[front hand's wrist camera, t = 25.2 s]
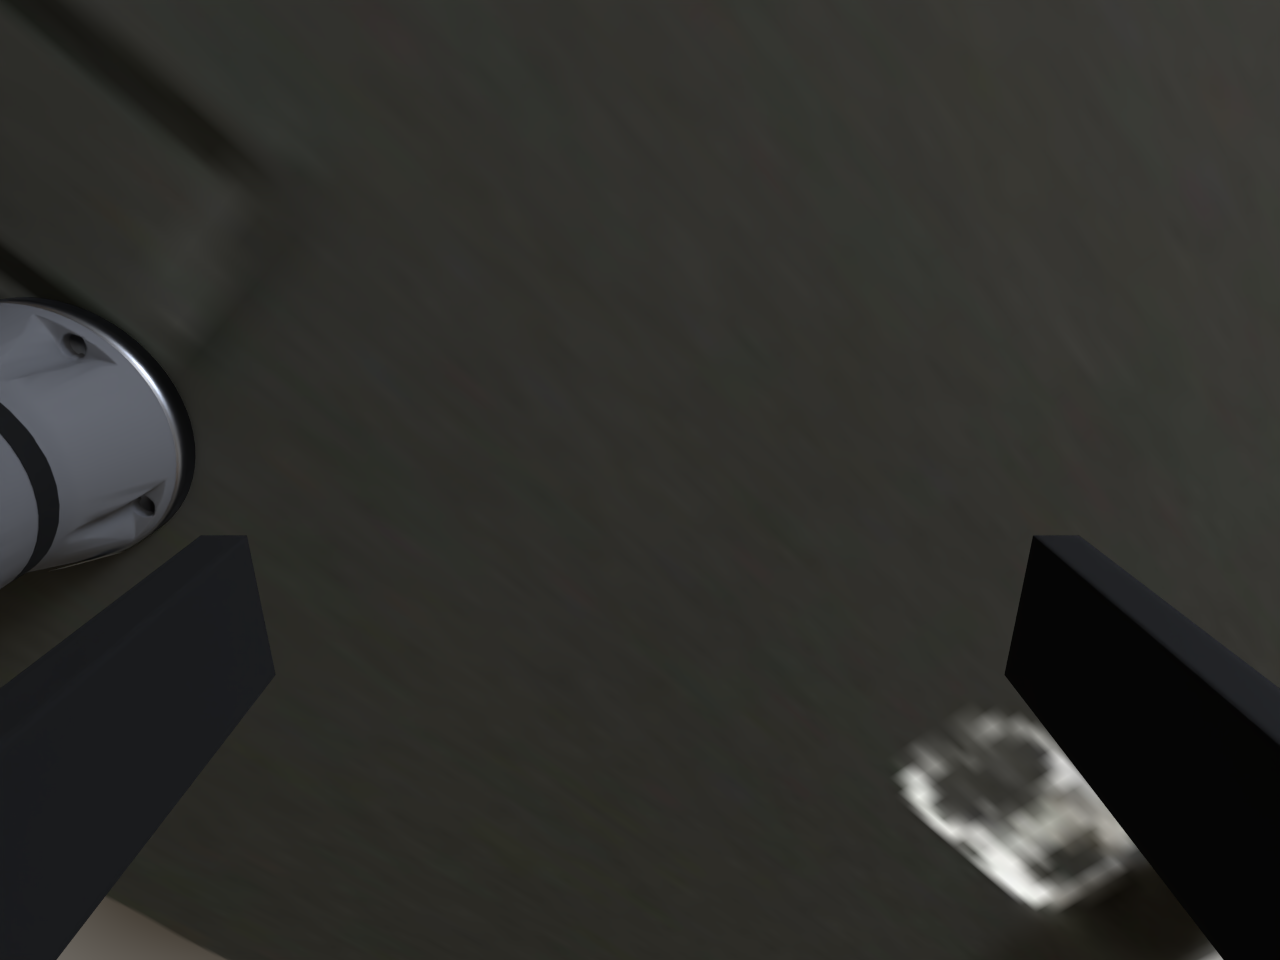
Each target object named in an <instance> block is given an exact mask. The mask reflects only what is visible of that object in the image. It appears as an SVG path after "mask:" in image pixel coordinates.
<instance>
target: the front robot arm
mask: <svg viewBox="0 0 1280 960" xmlns="http://www.w3.org/2000/svg"><path fill="white" fill-rule="evenodd" d="M194 467H195V443H194V436H193V431H192V427H191V422H190V419H189V416H188V413H187V411H186V408H185V406H184V403H183V401H182V399H181V397H180V395H179V393H178V391H177V390H176V388H175V386H174V384H173V383H172V381H171V380H170V378H169V377H168V375H167V374H166V372H165V371H164V370H163V369H162V367H161V366H160V365H159V364H158V362H157V361H156V360H155V359H154V358H153V357H152V356H151V355H150V354H149V353H148V352H147V351H146V350H145V349H144V348H143V347H142V346H141V345H140V344H139V343H138V342H137V341H135V340H134V339H133V338H132V337H130V336H129V335H128V334H127V333H125V332H124V331H123V330H121V329H120V328H118V327H117V326H115V325H114V324H112V323H110V322H109V321H107V320H105V319H103V318H101V317H100V316H98V315H95V314H93V313H91V312H89V311H87V310H84V309H82V308H79V307H76V306H73V305H71V304H67V303H63V302H59V301H55V300H49V299H44V298H32V297H18V298H8V299H0V589H1V588H2V587H4V586H5V585H7V584H9V583H10V582H12V581H14V580H15V579H17V578H18V577H20V576H22V575H24V574H25V573H27V572H32V571H36V570H41V569H46V568H51V567H56V566H60V565H65V564H70V563H75V562H80V561H84V560H88V561H85V562H89V561H92V560H96V559H100V558H103V557H107V556H111V555H114V554H115V553H116V554H118V552H120V553H122V552H121V551H123V550H125V549H128V548H130V547H131V546H133V545H135V544H137V543H138V542H140V541H141V540H143V539H144V538H146V537H147V536H149V535H150V534H152V533H153V532H154V531H156V530H157V529H159V528H160V527H161V526H163V525H164V524H165V523H166V522H167V521H168V520H169V519H170V518H171V517H173V515H174V514H175V513H176V512H177V510H178V509H179V508H180V506H181V504H182V503H183V501H184V500H185V497H186V495H187V493H188V491H189V488H190V485H191V482H192V478H193V473H194ZM94 558H96V559H94ZM89 559H92V560H89ZM85 562H81V563H85ZM81 563H77V564H74V565H78V564H81ZM74 565H70V566H74ZM70 566H66V567H63V568H67V567H70ZM59 569H62V568H59ZM55 570H57V569H55ZM51 571H53V570H51ZM274 676H275V670H274V665H273V660H272V656H271V651H270V646H269V641H268V636H267V631H266V626H265V622H264V617H263V612H262V607H261V602H260V597H259V592H258V588H257V583H256V578H255V573H254V568H253V563H252V559H251V554H250V549H249V544H248V539H247V536H200V537H198V538H197V539H196V540H194V541H193V542H192V543H190V544H189V545H188V546H187V547H185V548H184V549H183V550H181V551H180V552H179V553H177V554H176V555H175V556H173V557H172V558H171V559H169V560H168V561H167V562H166V563H164V564H163V565H162V566H160V567H159V568H158V569H156V570H155V571H154V572H152V573H151V574H150V575H148V576H147V577H146V578H145V579H143V580H142V581H141V582H139V583H138V584H137V585H135V586H134V587H133V588H131V589H130V590H129V591H127V592H126V593H125V594H124V595H122V596H121V597H120V598H118V599H117V600H116V601H114V602H113V603H112V604H110V605H109V606H108V607H107V608H105V609H104V610H103V611H101V612H100V613H99V614H97V615H96V616H95V617H93V618H92V619H91V620H89V621H88V622H87V623H86V624H84V625H83V626H82V627H80V628H79V629H78V630H76V631H75V632H74V633H72V634H71V635H70V636H68V637H67V638H66V639H65V640H63V641H62V642H61V643H59V644H58V645H57V646H55V647H54V648H53V649H51V650H50V651H49V652H47V653H46V654H45V655H44V656H42V657H41V658H40V659H38V660H37V661H36V662H34V663H33V664H32V665H30V666H29V667H28V668H26V669H25V670H24V671H23V672H21V673H20V674H19V675H17V676H16V677H15V678H13V679H12V680H11V681H9V682H8V683H7V684H6V685H4V686H3V687H2V688H0V960H56V959H57V958H58V957H59V956H60V954H61V953H62V952H63V950H64V949H65V948H66V947H67V945H68V944H69V943H70V941H71V940H72V939H73V937H74V936H75V935H76V933H77V932H78V931H79V930H80V928H81V927H82V926H83V924H84V923H85V922H86V921H87V919H88V918H89V917H90V915H91V914H92V913H93V911H94V910H95V909H96V907H97V906H98V905H99V904H100V902H101V901H102V900H103V898H104V897H105V896H106V895H107V893H108V892H109V891H110V889H111V888H112V887H113V885H114V884H115V883H116V882H117V880H118V879H119V878H120V876H121V875H122V874H123V872H124V871H125V870H126V869H127V867H128V866H129V865H130V863H131V862H132V861H133V859H134V858H135V857H136V855H137V854H138V853H139V852H140V850H141V849H142V848H143V846H144V845H145V844H146V842H147V841H148V840H149V839H150V837H151V836H152V835H153V833H154V832H155V831H156V829H157V828H158V827H159V826H160V824H161V823H162V822H163V820H164V819H165V818H166V816H167V815H168V814H169V813H170V811H171V810H172V809H173V807H174V806H175V805H176V803H177V802H178V801H179V800H180V798H181V797H182V796H183V794H184V793H185V792H186V790H187V789H188V788H189V787H190V785H191V784H192V783H193V781H194V780H195V779H196V777H197V776H198V775H199V774H200V772H201V771H202V770H203V768H204V767H205V766H206V764H207V763H208V762H209V761H210V759H211V758H212V757H213V755H214V754H215V753H216V751H217V750H218V749H219V748H220V746H221V745H222V744H223V742H224V741H225V740H226V738H227V737H228V736H229V735H230V733H231V732H232V731H233V729H234V728H235V727H236V725H237V724H238V723H239V722H240V720H241V719H242V718H243V716H244V715H245V714H246V712H247V711H248V710H249V709H250V707H251V706H252V705H253V703H254V702H255V701H256V699H257V698H258V697H259V696H260V694H261V693H262V692H263V690H264V689H265V688H266V686H267V685H268V684H269V683H270V681H271V680H272V679H273V677H274ZM1005 676H1006V677H1007V679H1008V680H1009V681H1010V683H1011V684H1012V685H1013V686H1014V688H1015V689H1016V690H1017V692H1018V693H1019V694H1020V696H1021V697H1022V698H1023V699H1024V701H1025V702H1026V703H1027V705H1028V706H1029V707H1030V709H1031V710H1032V711H1033V712H1034V714H1035V715H1036V716H1037V718H1038V719H1039V720H1040V722H1041V723H1042V724H1043V725H1044V727H1045V728H1046V729H1047V731H1048V732H1049V733H1050V735H1051V736H1052V737H1053V738H1054V740H1055V741H1056V742H1057V744H1058V745H1059V746H1060V748H1061V749H1062V750H1063V751H1064V753H1065V754H1066V755H1067V757H1068V758H1069V759H1070V761H1071V762H1072V763H1073V764H1074V766H1075V767H1076V768H1077V770H1078V771H1079V772H1080V774H1081V775H1082V776H1083V777H1084V779H1085V780H1086V781H1087V783H1088V784H1089V785H1090V787H1091V788H1092V789H1093V790H1094V792H1095V793H1096V794H1097V796H1098V797H1099V798H1100V800H1101V801H1102V802H1103V803H1104V805H1105V806H1106V807H1107V809H1108V810H1109V811H1110V813H1111V814H1112V815H1113V816H1114V818H1115V819H1116V820H1117V822H1118V823H1119V824H1120V826H1121V827H1122V828H1123V829H1124V831H1125V832H1126V833H1127V835H1128V836H1129V837H1130V839H1131V840H1132V841H1133V842H1134V844H1135V845H1136V846H1137V848H1138V849H1139V850H1140V852H1141V853H1142V854H1143V855H1144V857H1145V858H1146V859H1147V861H1148V862H1149V863H1150V865H1151V866H1152V867H1153V869H1154V870H1155V871H1156V872H1157V874H1158V875H1159V876H1160V878H1161V879H1162V880H1163V882H1164V883H1165V884H1166V885H1167V887H1168V888H1169V889H1170V891H1171V892H1172V893H1173V895H1174V896H1175V897H1176V898H1177V900H1178V901H1179V902H1180V904H1181V905H1182V906H1183V908H1184V909H1185V910H1186V911H1187V913H1188V914H1189V915H1190V917H1191V918H1192V919H1193V921H1194V922H1195V923H1196V924H1197V926H1198V927H1199V928H1200V930H1201V931H1202V932H1203V934H1204V935H1205V936H1206V937H1207V939H1208V940H1209V941H1210V943H1211V944H1212V945H1213V947H1214V948H1215V949H1216V950H1217V952H1218V953H1219V954H1220V956H1221V957H1222V958H1223V960H1280V688H1278V687H1277V686H1276V685H1274V684H1273V683H1272V682H1271V681H1269V680H1268V679H1267V678H1265V677H1264V676H1263V675H1261V674H1260V673H1259V672H1257V671H1256V670H1255V669H1254V668H1252V667H1251V666H1250V665H1248V664H1247V663H1246V662H1244V661H1243V660H1242V659H1240V658H1239V657H1238V656H1236V655H1235V654H1234V653H1233V652H1231V651H1230V650H1229V649H1227V648H1226V647H1225V646H1223V645H1222V644H1221V643H1219V642H1218V641H1217V640H1215V639H1214V638H1213V637H1212V636H1210V635H1209V634H1208V633H1206V632H1205V631H1204V630H1202V629H1201V628H1200V627H1198V626H1197V625H1196V624H1194V623H1193V622H1192V621H1191V620H1189V619H1188V618H1187V617H1185V616H1184V615H1183V614H1181V613H1180V612H1179V611H1177V610H1176V609H1175V608H1173V607H1172V606H1171V605H1170V604H1168V603H1167V602H1166V601H1164V600H1163V599H1162V598H1160V597H1159V596H1158V595H1156V594H1155V593H1154V592H1153V591H1151V590H1150V589H1149V588H1147V587H1146V586H1145V585H1143V584H1142V583H1141V582H1139V581H1138V580H1137V579H1135V578H1134V577H1133V576H1132V575H1130V574H1129V573H1128V572H1126V571H1125V570H1124V569H1122V568H1121V567H1120V566H1118V565H1117V564H1116V563H1114V562H1113V561H1112V560H1111V559H1109V558H1108V557H1107V556H1105V555H1104V554H1103V553H1101V552H1100V551H1099V550H1097V549H1096V548H1095V547H1093V546H1092V545H1091V544H1090V543H1088V542H1087V541H1086V540H1084V539H1083V538H1082V537H1080V536H1033V539H1032V544H1031V549H1030V554H1029V559H1028V563H1027V568H1026V573H1025V578H1024V583H1023V588H1022V592H1021V597H1020V602H1019V607H1018V612H1017V617H1016V622H1015V626H1014V631H1013V636H1012V641H1011V646H1010V651H1009V656H1008V660H1007V665H1006V670H1005Z"/></svg>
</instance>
